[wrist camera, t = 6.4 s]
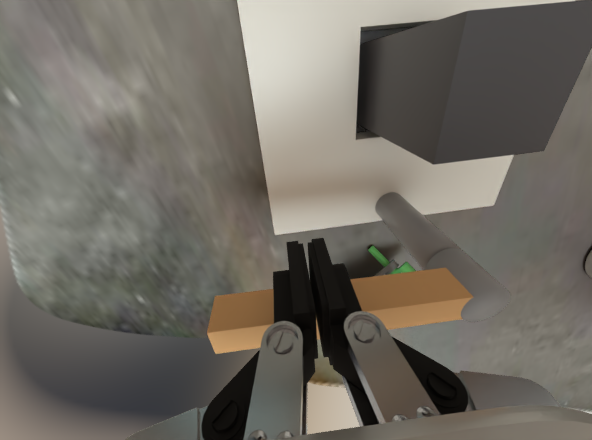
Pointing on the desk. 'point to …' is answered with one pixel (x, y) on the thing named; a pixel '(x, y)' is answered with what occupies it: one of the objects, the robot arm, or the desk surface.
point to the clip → (376, 301)
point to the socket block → (349, 123)
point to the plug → (475, 80)
